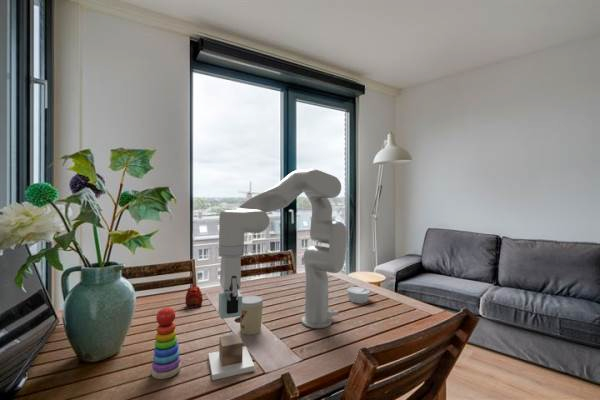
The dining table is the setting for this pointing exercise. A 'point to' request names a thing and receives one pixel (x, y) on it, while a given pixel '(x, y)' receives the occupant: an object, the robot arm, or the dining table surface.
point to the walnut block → (230, 349)
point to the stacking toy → (166, 346)
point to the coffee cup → (251, 314)
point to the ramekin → (358, 294)
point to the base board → (229, 370)
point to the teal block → (223, 305)
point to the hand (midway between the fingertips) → (230, 308)
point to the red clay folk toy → (193, 296)
